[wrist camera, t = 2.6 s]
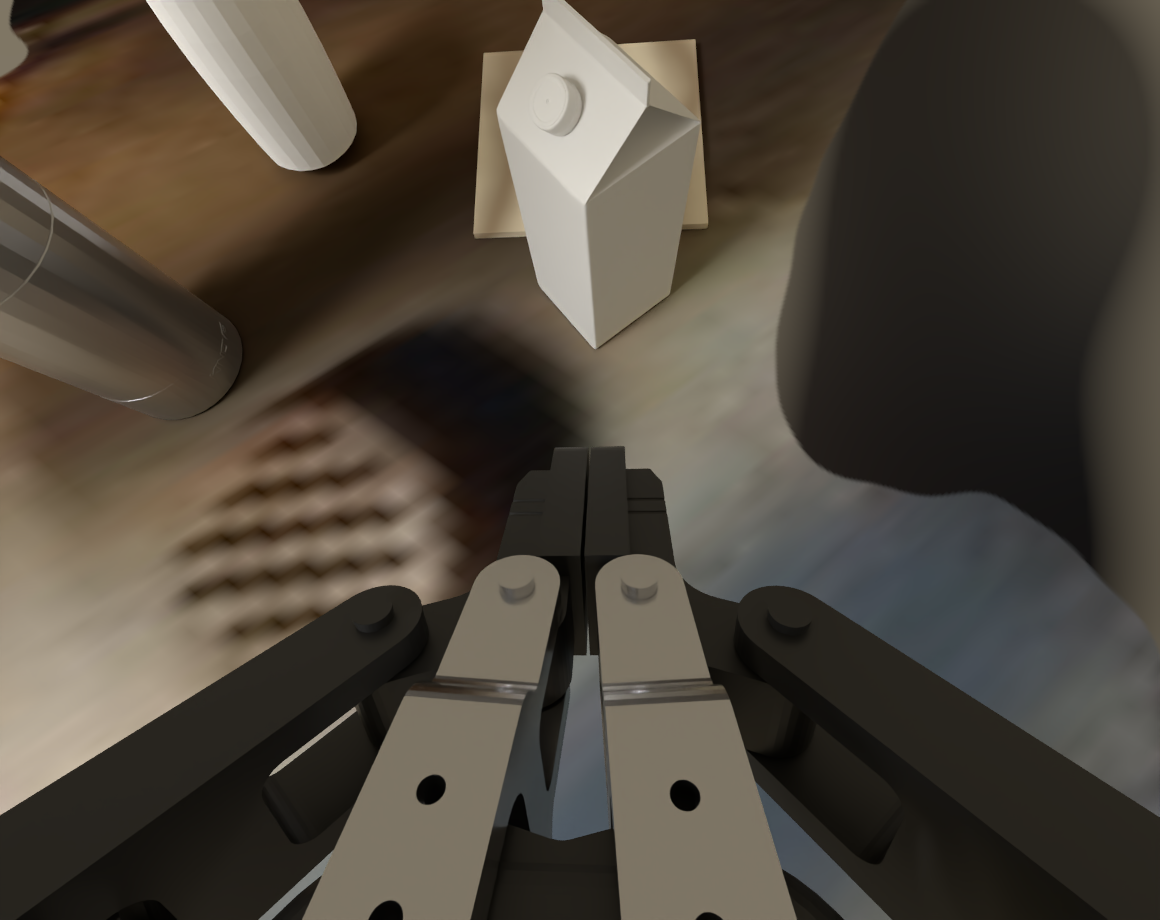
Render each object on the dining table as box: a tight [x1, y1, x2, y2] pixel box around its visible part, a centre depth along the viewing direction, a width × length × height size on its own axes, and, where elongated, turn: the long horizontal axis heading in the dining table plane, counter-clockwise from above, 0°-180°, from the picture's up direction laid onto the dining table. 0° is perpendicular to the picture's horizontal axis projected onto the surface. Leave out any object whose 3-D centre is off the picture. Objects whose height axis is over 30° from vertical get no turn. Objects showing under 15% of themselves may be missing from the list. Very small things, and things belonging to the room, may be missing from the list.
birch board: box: [473, 39, 708, 239], centre depth 43 cm, size 18×18×1 cm
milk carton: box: [496, 0, 701, 349], centre depth 31 cm, size 7×7×19 cm
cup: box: [146, 0, 357, 171], centre depth 38 cm, size 8×8×14 cm
